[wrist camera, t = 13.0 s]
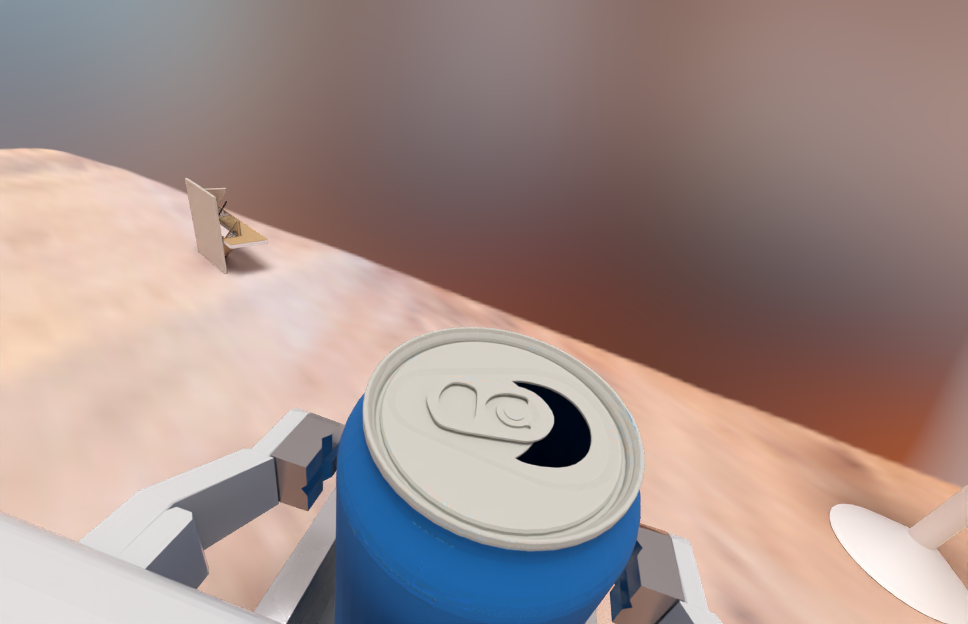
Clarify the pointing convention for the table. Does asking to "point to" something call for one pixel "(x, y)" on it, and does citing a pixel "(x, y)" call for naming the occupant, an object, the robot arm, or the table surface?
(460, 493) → the beverage can
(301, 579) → the can holder
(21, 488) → the table surface
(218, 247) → the architectural model
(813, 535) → the table surface
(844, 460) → the table surface
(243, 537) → the table surface
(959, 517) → the champagne flute
